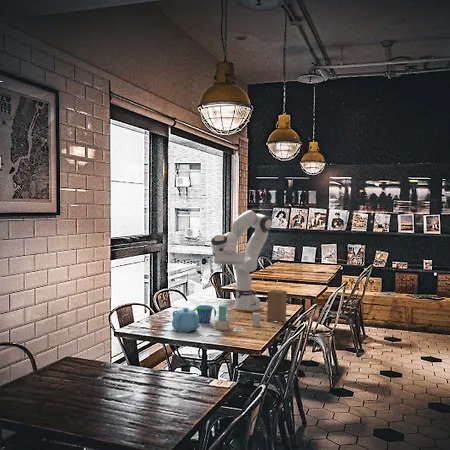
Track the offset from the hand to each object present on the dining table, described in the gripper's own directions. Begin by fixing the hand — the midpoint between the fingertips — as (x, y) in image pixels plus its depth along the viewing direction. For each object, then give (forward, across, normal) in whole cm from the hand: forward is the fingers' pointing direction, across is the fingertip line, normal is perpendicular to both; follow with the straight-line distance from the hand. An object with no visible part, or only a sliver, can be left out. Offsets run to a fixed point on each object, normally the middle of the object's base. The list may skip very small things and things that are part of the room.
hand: (228, 268), depth 337 cm
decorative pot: (+48, +22, 0) cm, 53 cm away
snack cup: (+32, +14, -17) cm, 39 cm away
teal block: (+37, +1, -4) cm, 38 cm away
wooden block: (+23, -33, -26) cm, 48 cm away
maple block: (+41, +1, -8) cm, 42 cm away
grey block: (+34, -20, -14) cm, 42 cm away
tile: (+43, -9, -6) cm, 44 cm away
